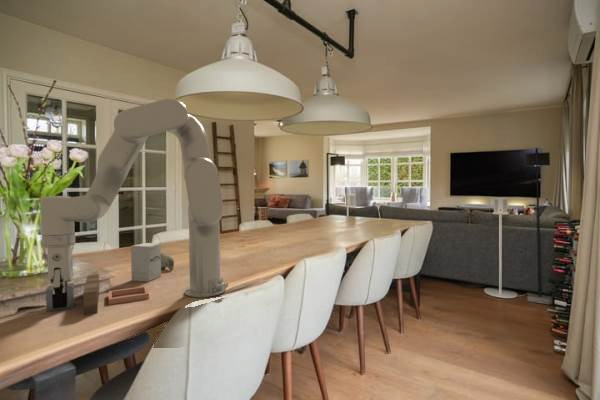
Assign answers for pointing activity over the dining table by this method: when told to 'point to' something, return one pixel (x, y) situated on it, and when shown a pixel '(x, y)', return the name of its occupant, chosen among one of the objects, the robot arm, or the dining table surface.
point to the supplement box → (146, 261)
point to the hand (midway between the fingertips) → (61, 304)
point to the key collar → (128, 298)
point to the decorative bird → (167, 261)
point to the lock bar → (70, 297)
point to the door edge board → (91, 294)
